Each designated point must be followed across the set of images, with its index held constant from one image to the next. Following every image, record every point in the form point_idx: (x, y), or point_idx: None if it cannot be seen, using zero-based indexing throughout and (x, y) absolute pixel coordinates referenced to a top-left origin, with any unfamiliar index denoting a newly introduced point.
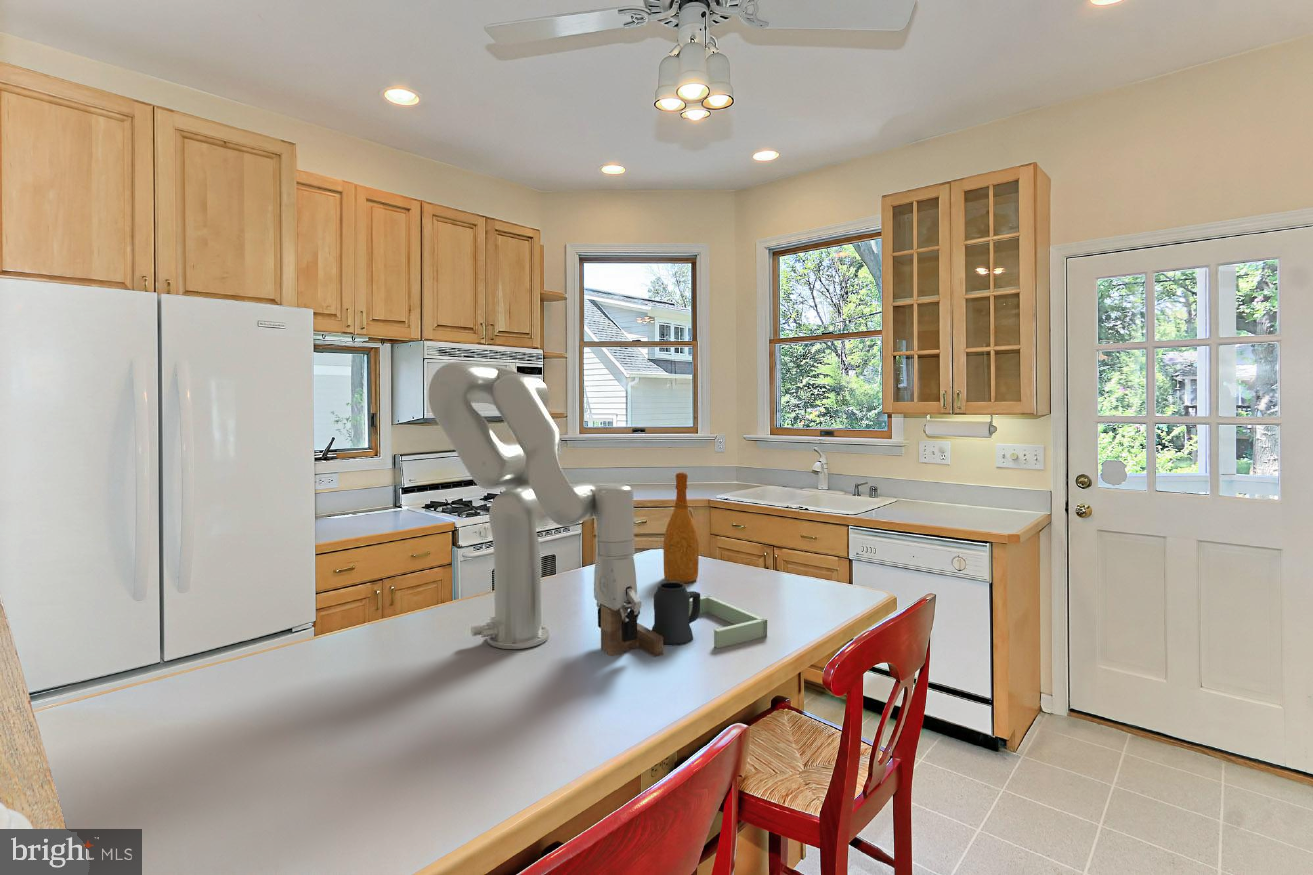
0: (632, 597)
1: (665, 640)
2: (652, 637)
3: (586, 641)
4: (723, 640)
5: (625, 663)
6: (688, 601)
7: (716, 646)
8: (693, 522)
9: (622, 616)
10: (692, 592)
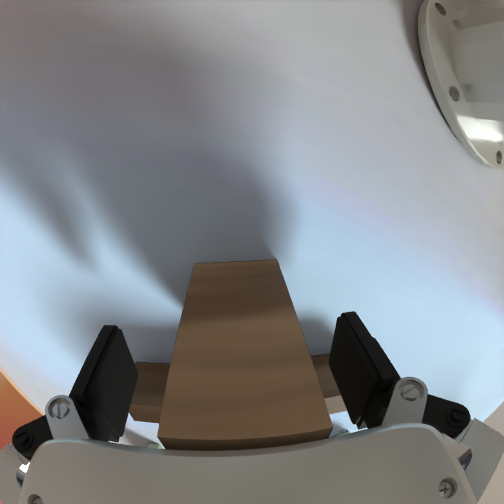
0: (4, 502)
1: None
2: (137, 405)
3: (374, 243)
4: None
5: (108, 276)
6: None
7: (151, 445)
8: None
9: (75, 419)
10: None
